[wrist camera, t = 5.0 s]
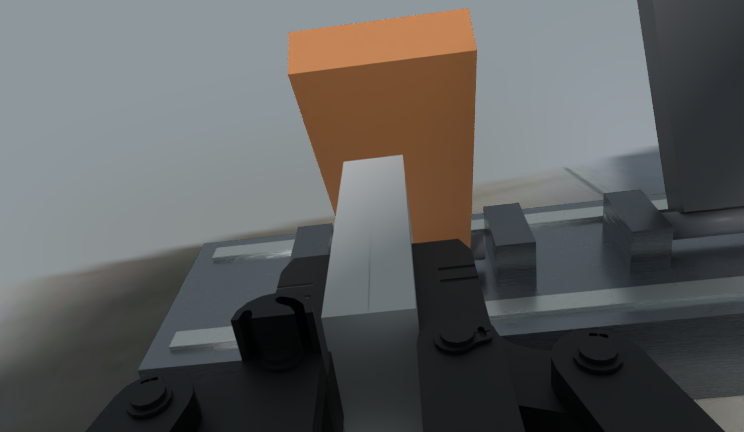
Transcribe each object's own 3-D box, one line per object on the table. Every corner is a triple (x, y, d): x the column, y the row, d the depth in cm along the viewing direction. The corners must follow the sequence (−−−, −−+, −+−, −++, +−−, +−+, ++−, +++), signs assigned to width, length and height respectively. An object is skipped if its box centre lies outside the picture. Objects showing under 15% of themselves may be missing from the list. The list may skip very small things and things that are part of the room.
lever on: (808, 226, 27) (759, -61, 28) (832, 223, 25) (779, -81, 26) (656, 242, 27) (615, -41, 28) (670, 240, 26) (626, -60, 27)
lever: (480, 236, 28) (494, 4, 17) (485, 268, 27) (504, 46, 16) (340, 251, 28) (264, 35, 17) (342, 283, 28) (262, 77, 16)
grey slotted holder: (777, 248, 33) (797, 141, 30) (926, 379, 24) (974, 244, 21) (222, 305, 35) (194, 210, 32) (166, 443, 26) (121, 329, 23)
